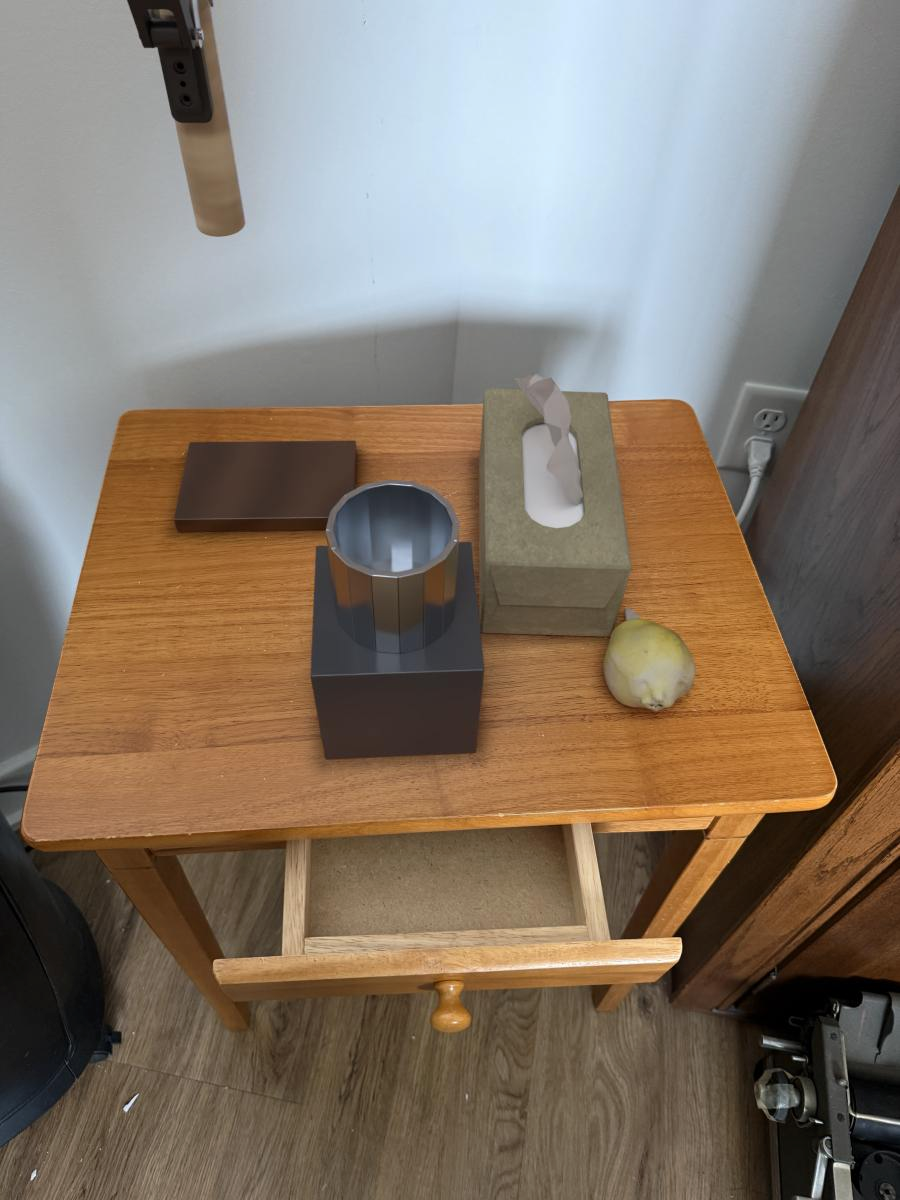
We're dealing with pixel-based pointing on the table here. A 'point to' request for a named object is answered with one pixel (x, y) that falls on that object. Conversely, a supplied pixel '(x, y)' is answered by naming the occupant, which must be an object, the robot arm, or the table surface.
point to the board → (263, 485)
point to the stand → (397, 680)
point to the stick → (211, 149)
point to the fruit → (647, 664)
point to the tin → (393, 564)
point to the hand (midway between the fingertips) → (198, 104)
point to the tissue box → (549, 513)
